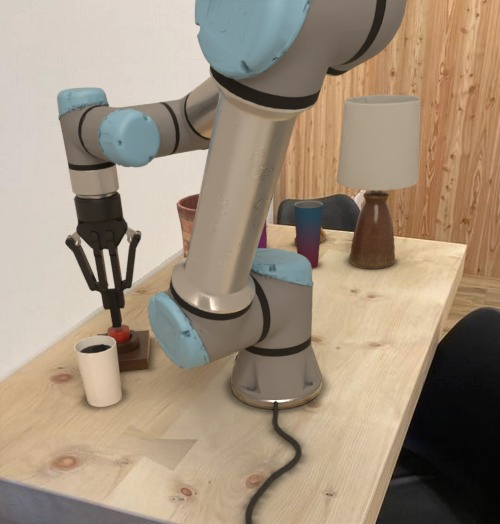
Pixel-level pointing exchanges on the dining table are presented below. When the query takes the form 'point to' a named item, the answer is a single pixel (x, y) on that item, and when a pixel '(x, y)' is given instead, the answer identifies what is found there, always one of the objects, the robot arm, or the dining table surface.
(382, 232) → the lamp
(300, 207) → the cup
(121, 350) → the switch box
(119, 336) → the lamp switch
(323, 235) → the pastry
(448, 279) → the dining table surface
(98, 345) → the white coffee cup
